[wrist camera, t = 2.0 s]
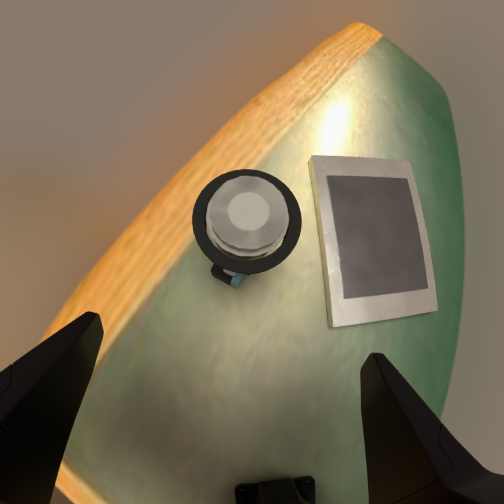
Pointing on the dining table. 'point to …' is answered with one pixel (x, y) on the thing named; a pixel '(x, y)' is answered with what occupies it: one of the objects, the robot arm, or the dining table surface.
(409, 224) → the mounting plate
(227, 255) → the push button
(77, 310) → the dining table surface
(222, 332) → the dining table surface
